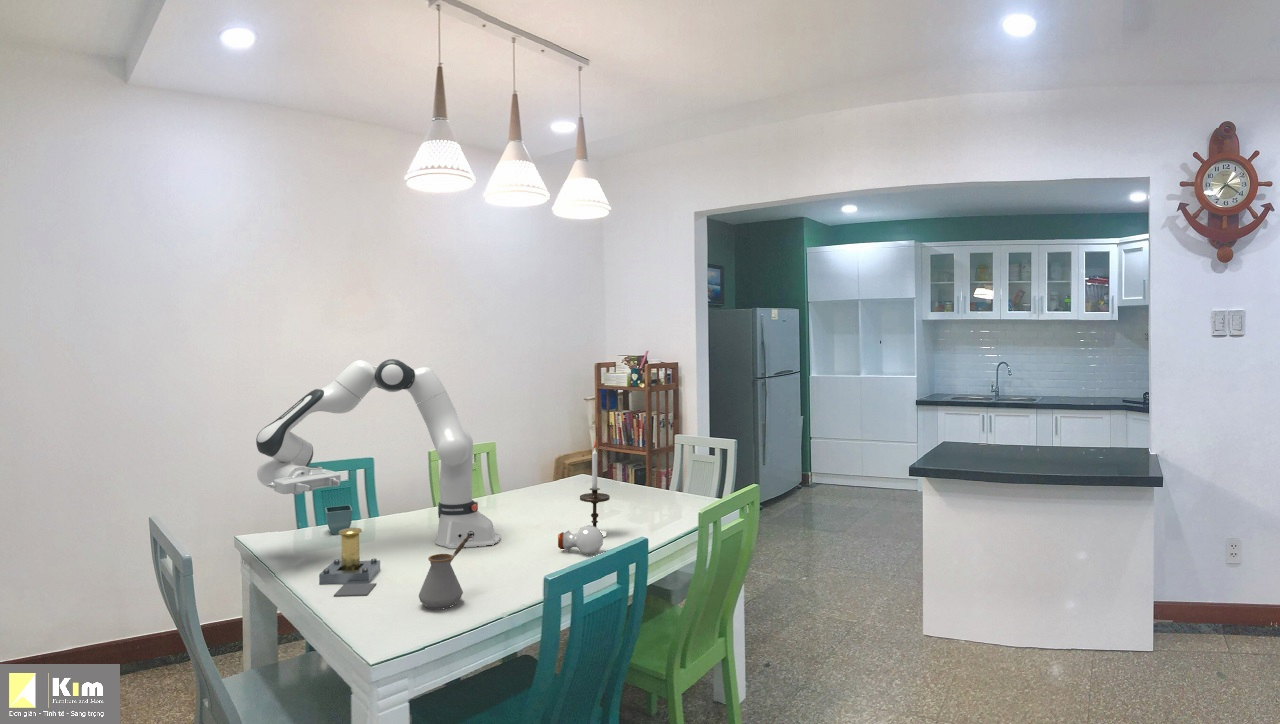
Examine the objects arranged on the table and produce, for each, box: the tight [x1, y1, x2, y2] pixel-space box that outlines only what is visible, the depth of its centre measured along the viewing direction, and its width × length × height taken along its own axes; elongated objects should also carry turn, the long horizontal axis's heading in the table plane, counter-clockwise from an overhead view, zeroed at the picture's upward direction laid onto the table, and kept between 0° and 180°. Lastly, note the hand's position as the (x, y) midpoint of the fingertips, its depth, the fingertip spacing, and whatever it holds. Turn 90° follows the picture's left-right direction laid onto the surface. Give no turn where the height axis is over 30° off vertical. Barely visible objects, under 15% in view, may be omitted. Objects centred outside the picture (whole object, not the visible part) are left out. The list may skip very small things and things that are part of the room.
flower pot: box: [324, 504, 353, 535], centre depth 262 cm, size 9×9×9 cm
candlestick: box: [579, 439, 611, 528], centre depth 259 cm, size 11×11×35 cm
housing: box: [318, 558, 381, 585], centre depth 213 cm, size 14×12×4 cm
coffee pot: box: [418, 535, 474, 610], centre depth 196 cm, size 21×12×15 cm, turn 163°
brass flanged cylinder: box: [338, 527, 363, 570], centre depth 213 cm, size 6×6×14 cm
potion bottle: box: [557, 524, 604, 556], centre depth 238 cm, size 9×10×15 cm
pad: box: [333, 582, 377, 598], centre depth 202 cm, size 9×9×1 cm
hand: (324, 486), depth 219 cm, fingers open, 8 cm apart
